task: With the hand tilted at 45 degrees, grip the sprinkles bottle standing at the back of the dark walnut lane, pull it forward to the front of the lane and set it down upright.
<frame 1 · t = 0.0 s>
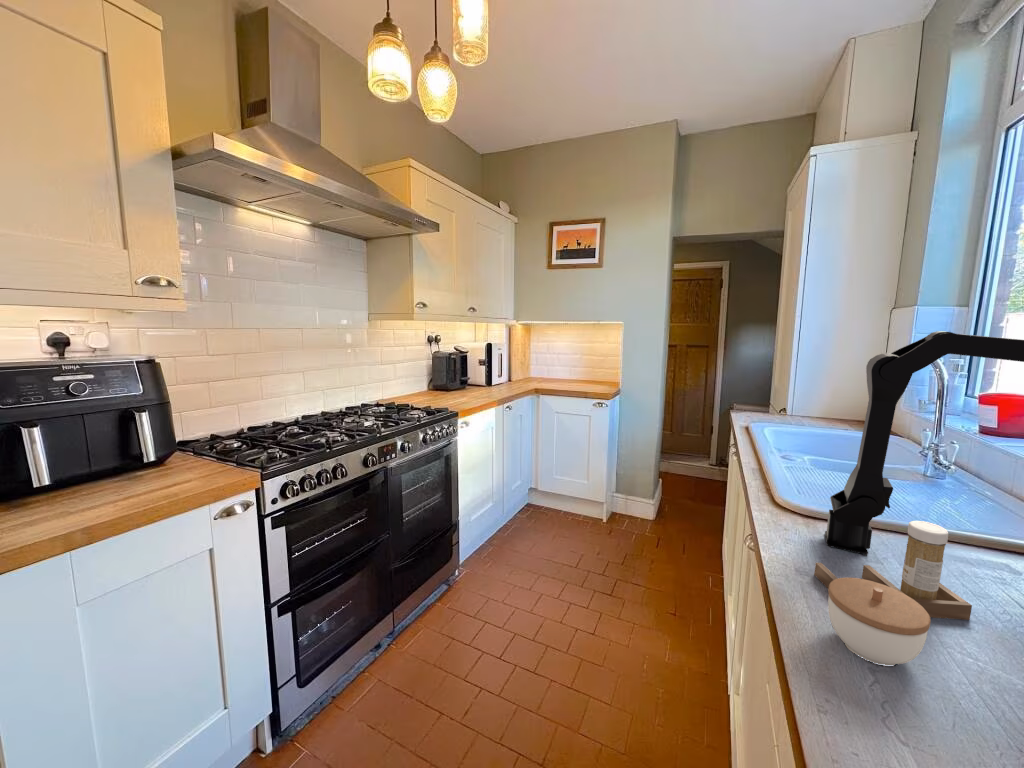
sprinkles bottle: (916, 602, 69), on the countertop
lidded jar: (870, 650, 59), on the countertop
walnut lanes: (909, 595, 70), on the countertop
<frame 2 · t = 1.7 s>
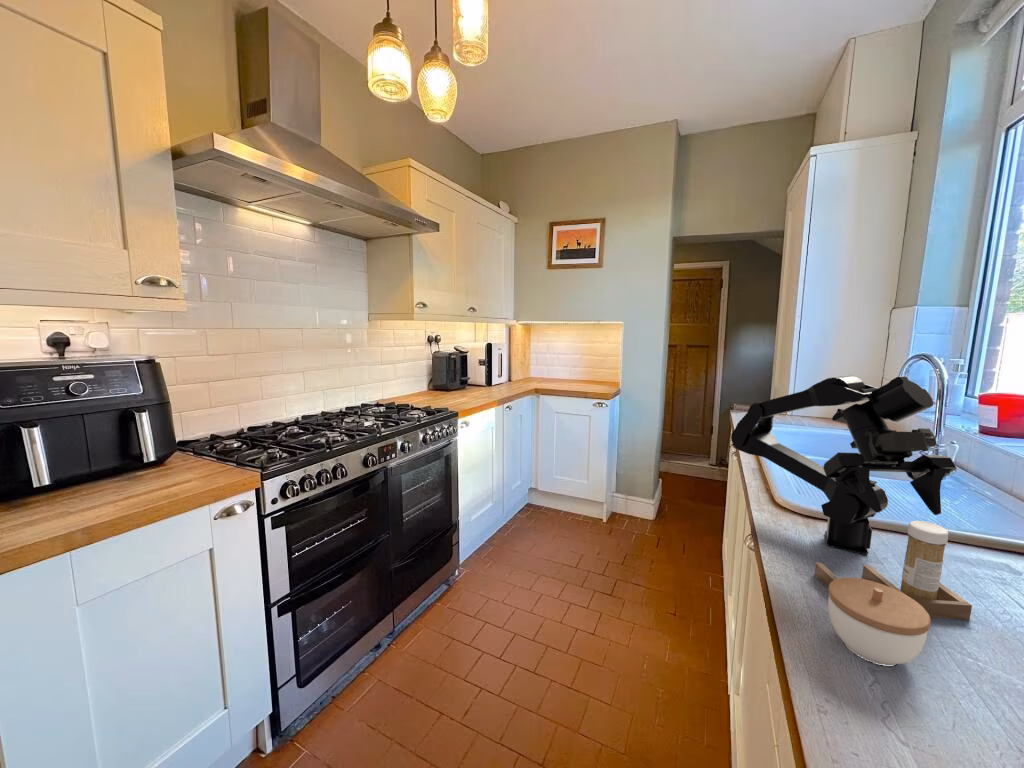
hand: (908, 513, 71), 13 cm above the countertop, tool tilted 45°, fingers open, 9 cm apart
nothing on the countertop moved.
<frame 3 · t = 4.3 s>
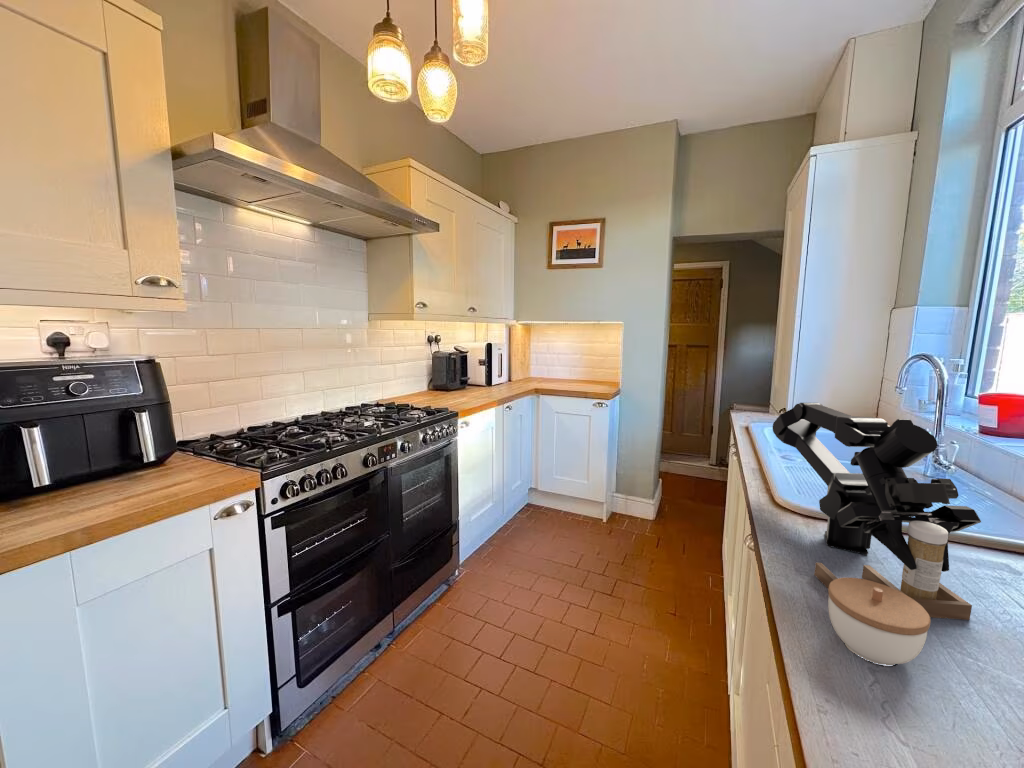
hand: (929, 570, 66), 7 cm above the countertop, tool tilted 45°, fingers closed on sprinkles bottle, 4 cm apart
sprinkles bottle: (916, 602, 69), on the countertop, touching gripper
everything else where it was.
when the fingers open (8 cm above the countertop, at t = 7.4 s): sprinkles bottle stays where it is, on the countertop.
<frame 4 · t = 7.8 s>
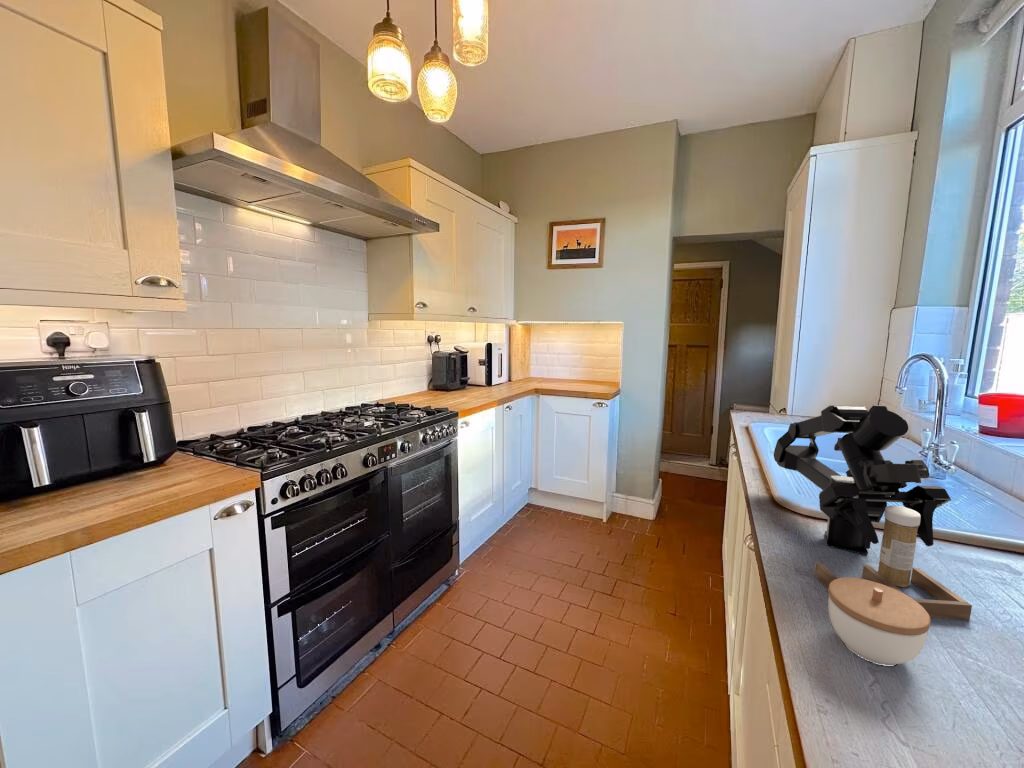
hand: (903, 544, 71), 8 cm above the countertop, tool tilted 45°, fingers open, 8 cm apart
sprinkles bottle: (893, 581, 74), on the countertop
everything else where it was.
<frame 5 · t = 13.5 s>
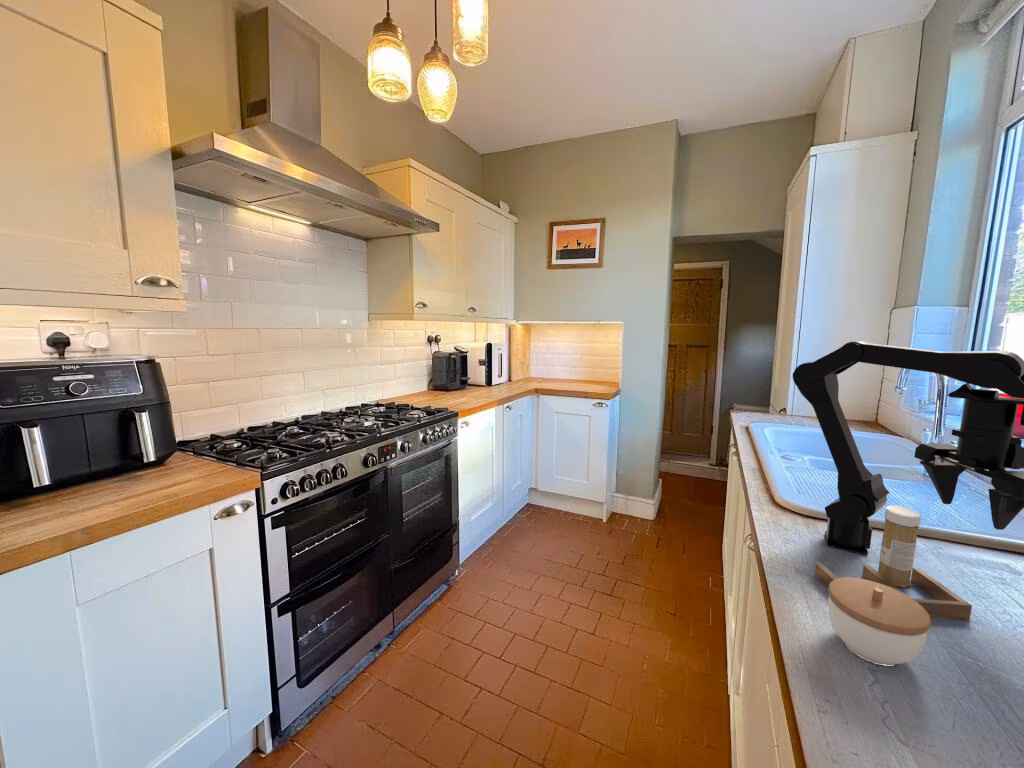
hand: (971, 515, 71), 13 cm above the countertop, tool pointing down, fingers open, 9 cm apart
nothing on the countertop moved.
at the end: sprinkles bottle 0.6 cm from the target spot, on the countertop; sprinkles bottle tilted 0°; the gripper is holding nothing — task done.
